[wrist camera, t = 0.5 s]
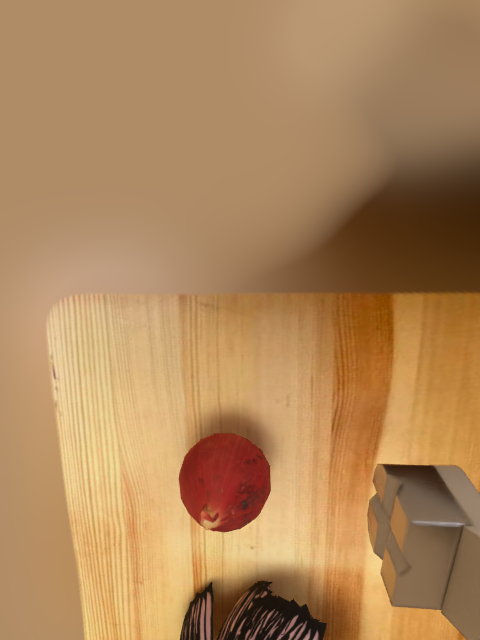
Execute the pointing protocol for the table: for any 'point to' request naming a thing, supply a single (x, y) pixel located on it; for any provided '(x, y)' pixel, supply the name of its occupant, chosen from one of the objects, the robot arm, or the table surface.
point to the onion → (224, 482)
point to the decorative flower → (252, 618)
